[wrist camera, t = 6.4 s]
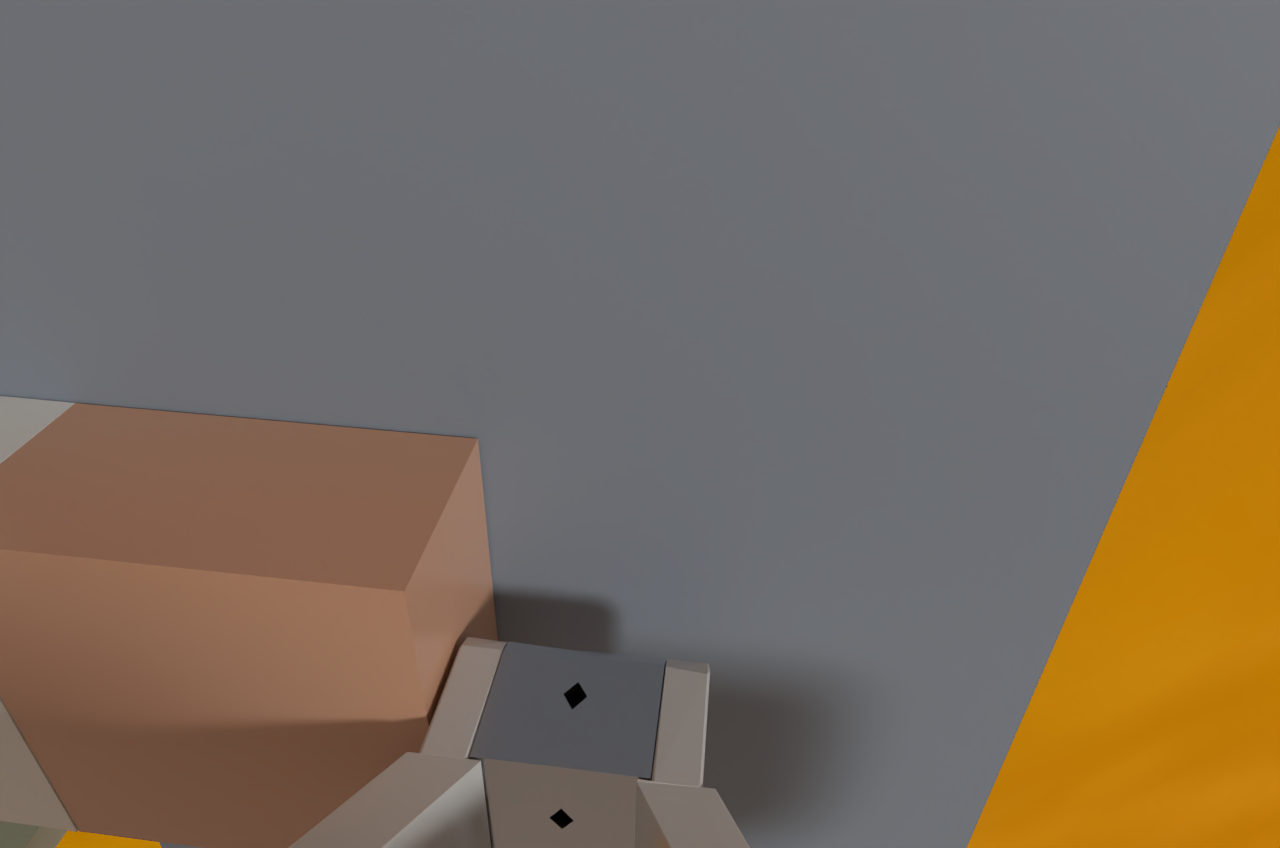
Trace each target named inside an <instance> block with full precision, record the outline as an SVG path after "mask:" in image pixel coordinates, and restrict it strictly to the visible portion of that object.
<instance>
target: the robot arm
mask: <svg viewBox="0 0 1280 848" xmlns="http://www.w3.org/2000/svg"><path fill="white" fill-rule="evenodd" d="M709 680H710V667H709V664H708V663H699V662H689V661H680V660H671V659H667V664H666V658H657V657H647V656H636V655H626V654H615V653H605V652H594V651H585V652H582V651H575V650H568V649H560V648H553V647H545V646H538V645H531V644H523V643H516V642H506V641H498V640H490V639H482V638H474V637H467V638H466V640H465V641H464V642H463V644H462V645H461V646H460V648H459V650H458V653H457V655H456V658H455V660H454V663H453V666H452V668H451V671H450V674H449V676H448V679H447V681H446V684H445V687H444V689H443V692H442V694H441V697H440V700H439V702H438V705H437V708H436V710H435V713H434V715H433V718H432V721H431V723H430V726H429V728H428V731H427V734H426V736H425V739H424V742H423V744H422V747H421V749H420V752H419V753H418V752H406V753H404V754H403V755H402V756H401V757H399V758H398V759H397V760H396V761H395V762H393V763H392V764H391V765H390V766H388V767H387V768H386V769H385V770H383V771H382V772H381V773H380V774H379V775H377V776H376V777H375V778H374V779H372V780H371V781H370V782H369V783H367V784H366V785H365V786H364V787H362V788H361V789H360V790H359V791H358V792H356V793H355V794H354V795H353V796H351V797H350V798H349V799H348V800H346V801H345V802H344V803H343V804H342V805H340V806H339V807H338V808H337V809H335V810H334V811H333V812H332V813H330V814H329V815H328V816H327V817H325V818H324V819H323V820H322V821H321V822H319V823H318V824H317V825H316V826H314V827H313V828H312V829H311V830H309V831H308V832H307V833H306V834H305V835H303V836H302V837H301V838H300V839H298V840H297V841H296V842H295V843H293V844H292V845H291V846H290V847H288V848H750V847H749V845H748V844H747V842H746V840H745V838H744V837H743V835H742V833H741V832H740V830H739V828H738V826H737V825H736V823H735V821H734V820H733V818H732V816H731V814H730V813H729V811H728V809H727V808H726V806H725V804H724V802H723V801H722V799H721V797H720V796H719V794H718V792H717V790H716V789H713V788H707V787H703V774H704V758H705V742H706V727H707V711H708V696H709Z"/></svg>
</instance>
